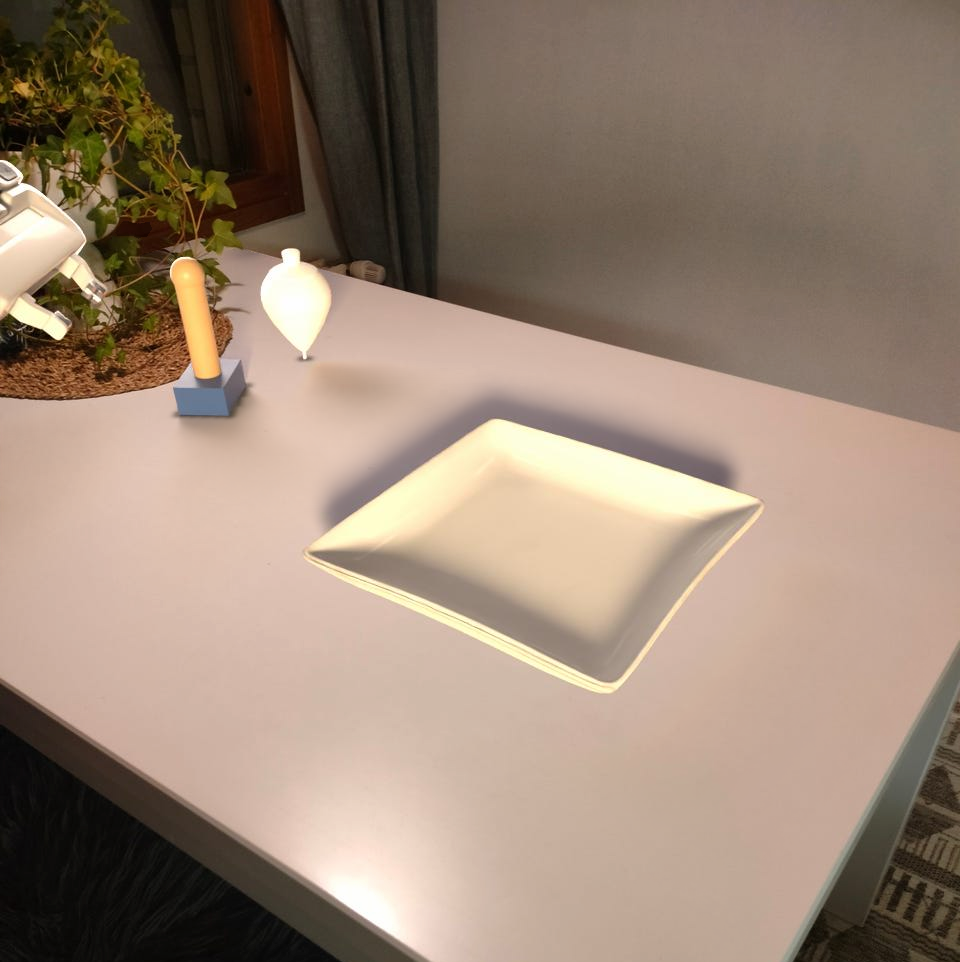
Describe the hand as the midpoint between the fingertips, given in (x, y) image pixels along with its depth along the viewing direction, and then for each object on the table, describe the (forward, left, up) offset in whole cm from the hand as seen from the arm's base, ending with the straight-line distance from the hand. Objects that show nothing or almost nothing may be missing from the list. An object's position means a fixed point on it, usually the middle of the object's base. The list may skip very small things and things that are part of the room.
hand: (85, 314), depth 91 cm
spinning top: (+20, +9, -9) cm, 24 cm away
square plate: (+42, -33, -9) cm, 54 cm away
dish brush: (+11, -1, -9) cm, 14 cm away
